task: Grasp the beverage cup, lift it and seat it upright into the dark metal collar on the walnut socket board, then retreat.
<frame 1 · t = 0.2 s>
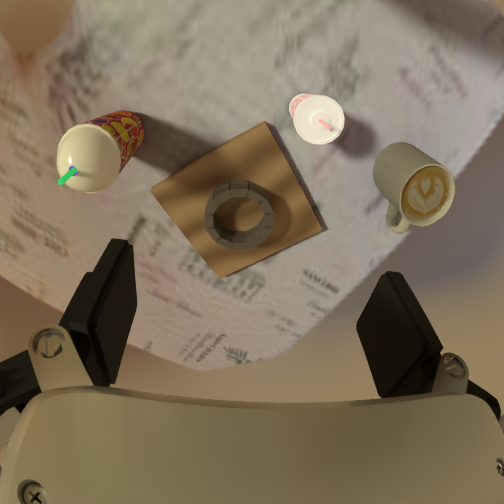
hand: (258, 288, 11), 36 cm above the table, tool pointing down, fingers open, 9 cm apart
socket board: (239, 205, 49), on the table
coffee mug: (393, 178, 47), on the table
beverage cup: (304, 108, 41), on the table
smoothie: (126, 130, 41), on the table
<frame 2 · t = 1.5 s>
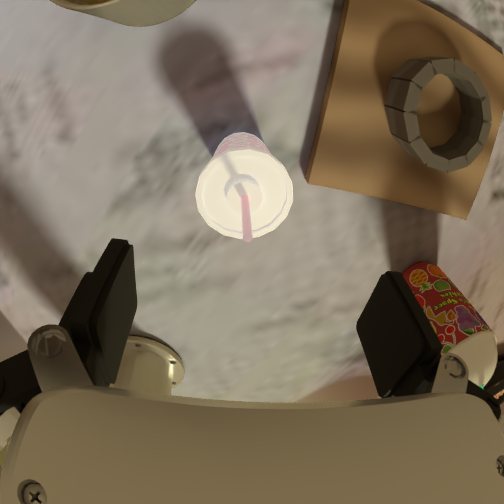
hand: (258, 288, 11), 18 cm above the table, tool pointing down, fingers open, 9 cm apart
socket board: (423, 106, 24), on the table
casserole: (479, 378, 56), on the table
beverage cup: (241, 156, 27), on the table
smoothie: (415, 278, 36), on the table
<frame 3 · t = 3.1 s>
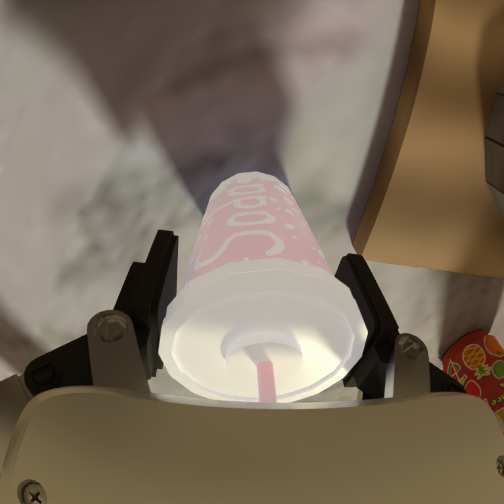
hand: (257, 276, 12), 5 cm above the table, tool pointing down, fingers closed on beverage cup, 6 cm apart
beverage cup: (251, 211, 16), on the table, touching gripper
smoothie: (463, 346, 25), on the table
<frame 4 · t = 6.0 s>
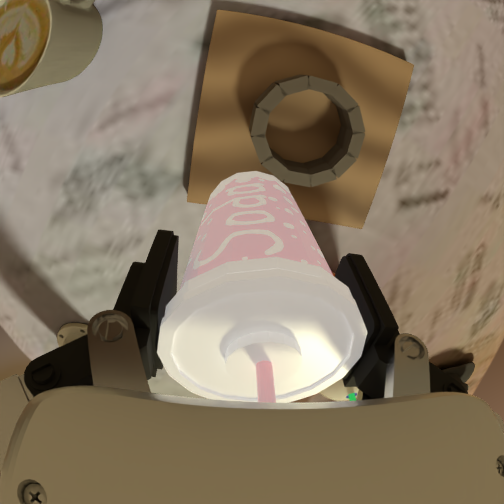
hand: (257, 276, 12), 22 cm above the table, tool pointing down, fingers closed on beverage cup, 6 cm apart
socket board: (299, 122, 29), on the table
coffee mug: (75, 30, 22), on the table
casserole: (429, 383, 63), on the table
beverage cup: (251, 211, 16), point 17 cm above the table, touching gripper
smoothie: (318, 284, 41), on the table
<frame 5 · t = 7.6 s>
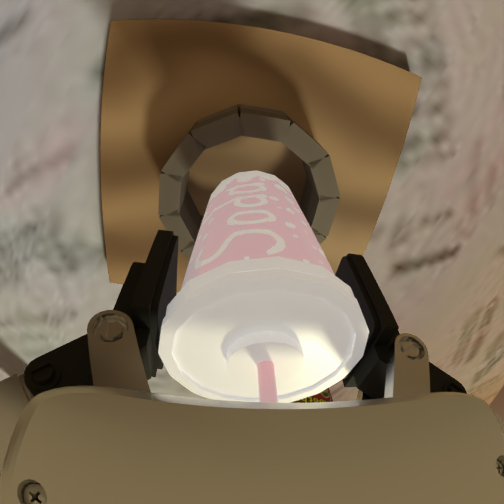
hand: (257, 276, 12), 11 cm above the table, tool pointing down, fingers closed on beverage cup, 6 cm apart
socket board: (246, 174, 21), on the table
beverage cup: (252, 210, 16), point 6 cm above the table, touching gripper
when the fingers open (7 cm above the table, at t = 8.8 s): beverage cup stays where it is, resting on socket board.
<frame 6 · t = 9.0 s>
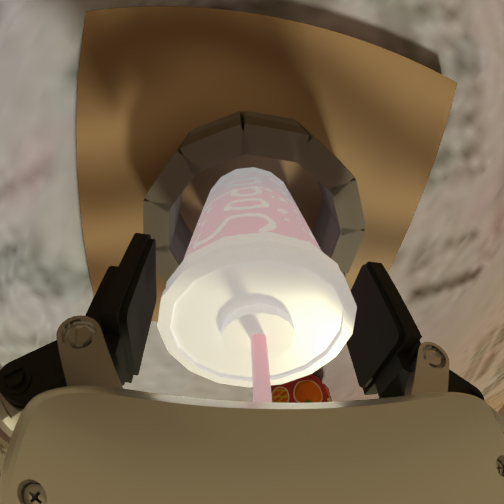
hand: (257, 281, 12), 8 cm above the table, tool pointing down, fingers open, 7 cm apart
socket board: (250, 194, 18), on the table
beverage cup: (249, 206, 17), point 1 cm above the table, touching socket board
smoothie: (294, 384, 30), on the table
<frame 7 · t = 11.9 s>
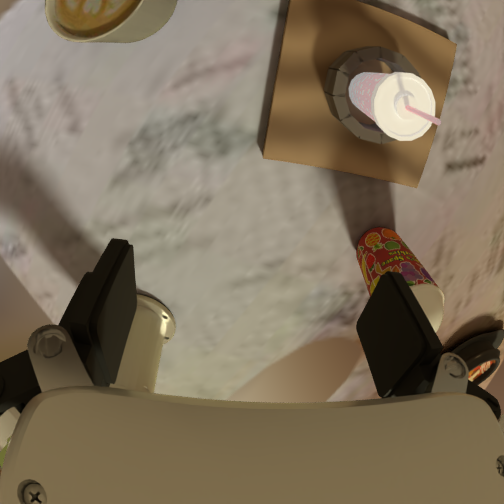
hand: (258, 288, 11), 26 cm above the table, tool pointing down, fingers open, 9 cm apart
socket board: (364, 89, 30), on the table
casserole: (463, 351, 63), on the table
beverage cup: (367, 91, 29), point 1 cm above the table, touching socket board
smoothie: (375, 242, 42), on the table
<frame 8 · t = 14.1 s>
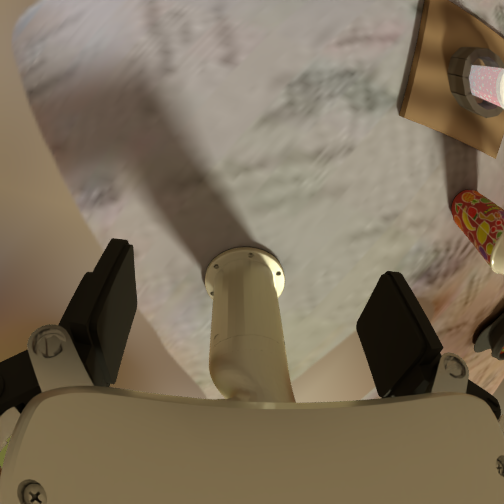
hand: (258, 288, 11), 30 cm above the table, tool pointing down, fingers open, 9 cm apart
socket board: (467, 77, 31), on the table
casserole: (503, 321, 64), on the table
beverage cup: (471, 79, 30), point 1 cm above the table, touching socket board
smoothie: (462, 204, 43), on the table
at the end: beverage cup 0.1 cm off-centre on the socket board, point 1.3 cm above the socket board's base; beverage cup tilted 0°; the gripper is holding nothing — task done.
